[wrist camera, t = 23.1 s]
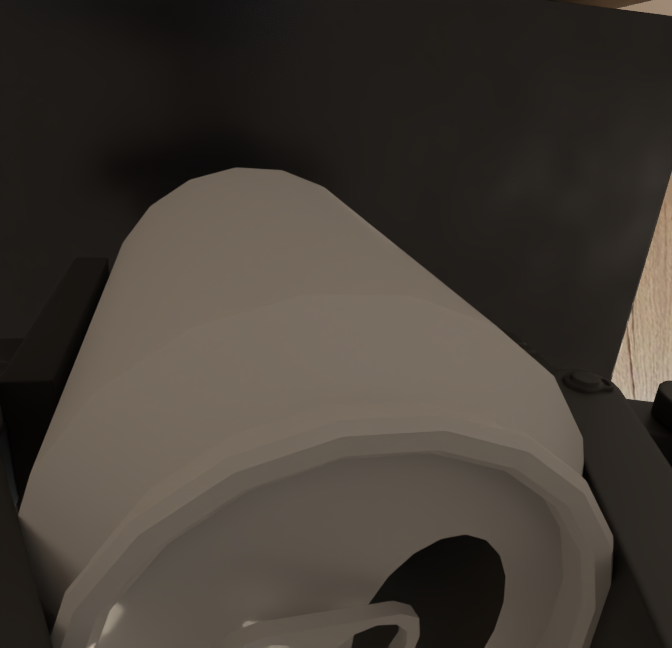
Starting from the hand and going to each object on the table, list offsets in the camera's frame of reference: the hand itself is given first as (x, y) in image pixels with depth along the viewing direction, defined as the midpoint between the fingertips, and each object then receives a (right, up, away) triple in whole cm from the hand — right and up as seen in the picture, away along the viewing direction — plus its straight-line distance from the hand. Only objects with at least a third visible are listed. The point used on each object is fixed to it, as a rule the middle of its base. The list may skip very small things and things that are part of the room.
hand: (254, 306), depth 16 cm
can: (0, 0, +1) cm, 1 cm away
